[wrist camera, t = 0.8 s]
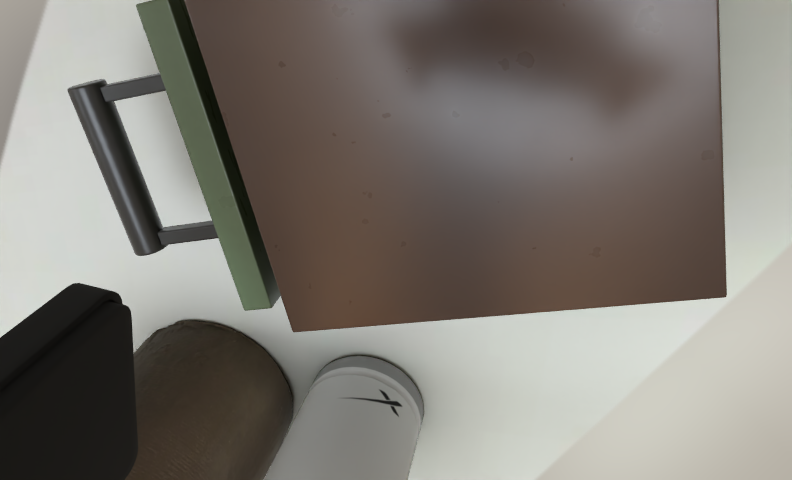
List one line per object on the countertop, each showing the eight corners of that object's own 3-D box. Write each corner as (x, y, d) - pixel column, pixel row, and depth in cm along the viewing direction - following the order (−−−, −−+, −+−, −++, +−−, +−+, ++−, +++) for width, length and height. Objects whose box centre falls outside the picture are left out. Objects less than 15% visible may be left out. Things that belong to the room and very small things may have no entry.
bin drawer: (206, 248, 33) (129, 322, 27) (119, 12, 28) (5, 36, 22) (596, 199, 28) (610, 277, 22) (564, -98, 23) (570, -104, 17)
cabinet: (353, 234, 32) (292, 333, 24) (278, -44, 27) (173, -29, 19) (678, 195, 28) (727, 298, 20) (659, -140, 23) (714, -170, 15)
